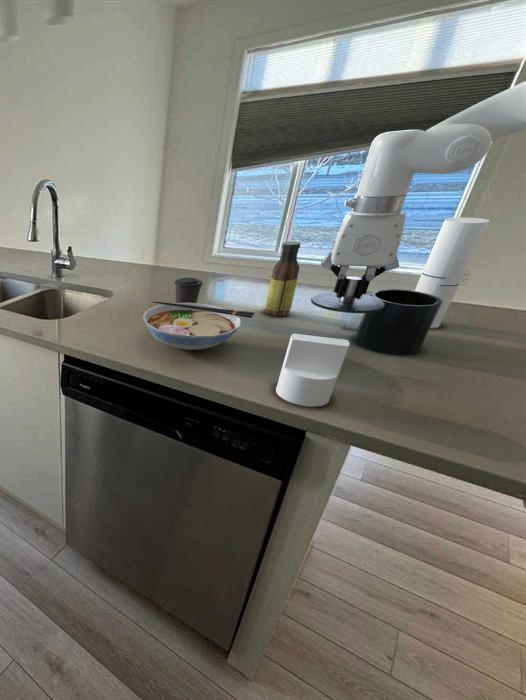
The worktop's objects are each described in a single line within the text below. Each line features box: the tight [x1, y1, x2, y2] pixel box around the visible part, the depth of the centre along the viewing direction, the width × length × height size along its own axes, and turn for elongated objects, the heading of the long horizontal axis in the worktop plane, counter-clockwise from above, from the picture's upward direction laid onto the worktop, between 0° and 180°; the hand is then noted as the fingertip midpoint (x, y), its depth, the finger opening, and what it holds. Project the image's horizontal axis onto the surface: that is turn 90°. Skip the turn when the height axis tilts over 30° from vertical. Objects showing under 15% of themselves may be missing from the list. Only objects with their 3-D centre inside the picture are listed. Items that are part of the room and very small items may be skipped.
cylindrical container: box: [414, 217, 490, 329], centre depth 98 cm, size 7×7×25 cm
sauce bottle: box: [265, 240, 301, 317], centre depth 112 cm, size 7×6×20 cm
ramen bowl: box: [142, 300, 255, 351], centre depth 102 cm, size 25×23×8 cm
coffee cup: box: [173, 277, 204, 303], centre depth 122 cm, size 8×8×10 cm
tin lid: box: [310, 275, 385, 314], centre depth 87 cm, size 13×13×6 cm
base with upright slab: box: [275, 333, 351, 408], centre depth 78 cm, size 9×9×12 cm
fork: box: [345, 313, 364, 331], centre depth 110 cm, size 3×21×3 cm, turn 131°
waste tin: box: [354, 288, 442, 356], centre depth 93 cm, size 12×12×12 cm
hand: (348, 295), depth 87 cm, fingers closed on tin lid, 2 cm apart
